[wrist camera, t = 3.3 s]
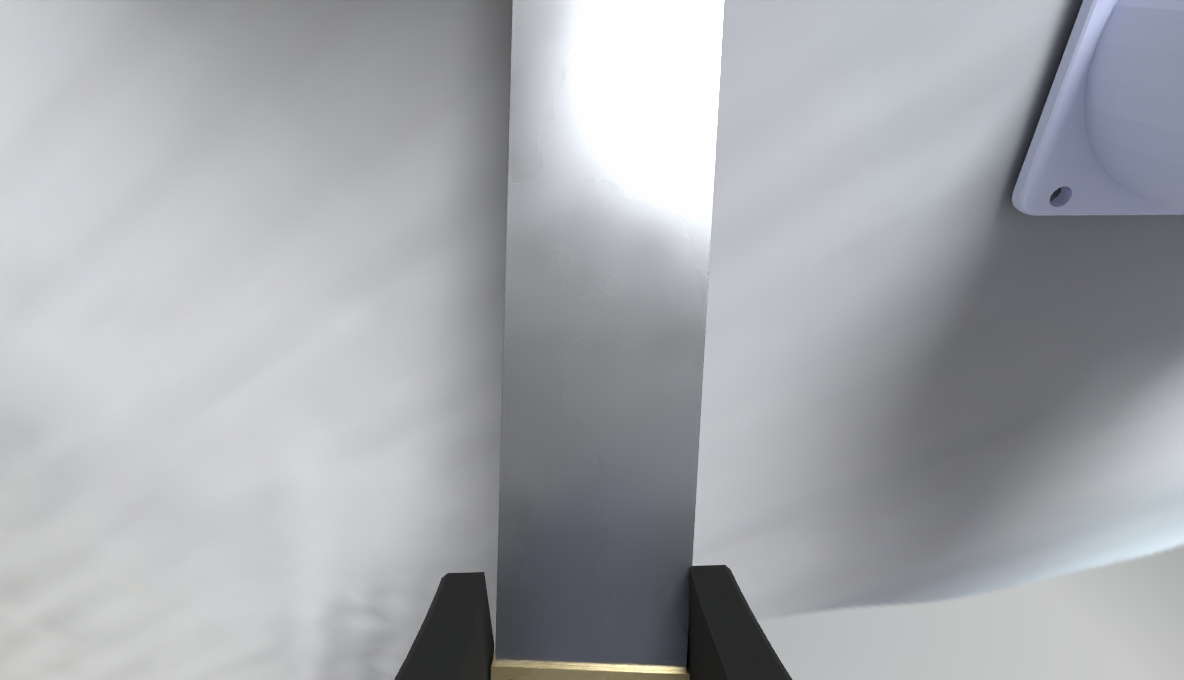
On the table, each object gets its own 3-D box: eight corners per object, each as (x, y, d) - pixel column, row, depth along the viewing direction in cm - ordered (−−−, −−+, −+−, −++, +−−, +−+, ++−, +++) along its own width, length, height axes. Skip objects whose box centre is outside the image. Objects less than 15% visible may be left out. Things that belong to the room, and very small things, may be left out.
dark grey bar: (700, -88, 13) (742, -231, 9) (661, 664, 14) (683, 791, 11) (536, -95, 13) (514, -241, 9) (515, 659, 14) (487, 783, 11)
